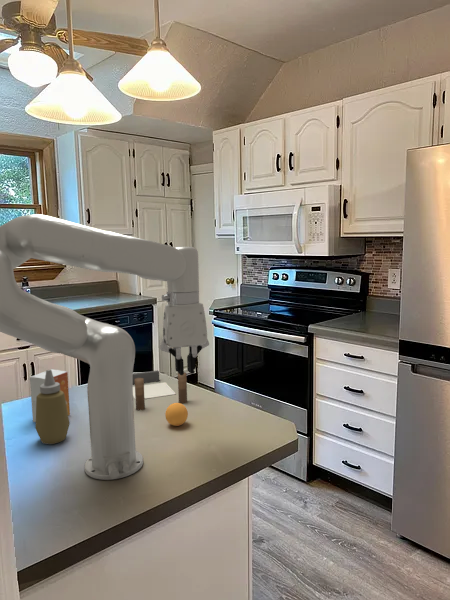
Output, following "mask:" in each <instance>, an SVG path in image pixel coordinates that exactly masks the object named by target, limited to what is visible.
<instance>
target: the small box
mask: <svg viewBox="0 0 450 600" xmlns="http://www.w3.org/2000/svg"><path fill="white" fill-rule="evenodd" d="M50 370H51V371H52V374H53V377H54V380H55V382H58V383H59V384H60V390H61V391H63V392H64V394H65V400H66V405H67V411H68V417H69V416H71V412H70V411H71V409H70V395H69V394H70V393H69V378H68V377H69V374H68V373H69V372H68V371H66V370H60V369H53V368H51V369H50ZM45 376H46V371H43V372H39V373H37V374H35V375H31V376H29V384H30V385H29V386H30V388H29V389H30V398H31V401H30V402H31V412H32V413H31V415H32V422H33V423H36V397H37V395H38V394H39V393H41V392H40V385H42V384H44V382H45Z"/></svg>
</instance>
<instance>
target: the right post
mask: <svg viewBox="0 0 450 600" xmlns="http://www.w3.org/2000/svg"><path fill="white" fill-rule="evenodd" d="M187 382H188V380H187V372H185V371H184V374H183V375H180V374H179V373H178V372H177V385H178V387H177V388H178V389H177V390H178V391H177V392H178V393H177V394H178V403H181V404H183V405H184V404H187V403H188V387H187V386H188V385H187Z"/></svg>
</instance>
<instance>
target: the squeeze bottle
mask: <svg viewBox="0 0 450 600" xmlns="http://www.w3.org/2000/svg"><path fill="white" fill-rule="evenodd" d="M40 392H41V393H39V394H38V395H37V397H36V422H35V430H36V433H37V435H38V437H39V439H40V442H41V443H42V444H45V445H54V444H57V443H61V442H63V441H64V440H66V438H67V435H68V433H69V432H68V431H69V427H70V424H71V423H70V422H71V421H70V417H69V416H68V411H67V405H66V400H65V394H64V392H63V391H61V390H60V384H59V383H58V382H55V380H54V377H53V374H52V371H51V369H47V370H46V376H45V382H44V384H42V385H40Z"/></svg>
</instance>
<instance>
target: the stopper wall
mask: <svg viewBox="0 0 450 600" xmlns="http://www.w3.org/2000/svg"><path fill="white" fill-rule="evenodd" d="M136 378H143V379H144V384H147V383H149V384H150V383H158V382H160V371H159V370H151V371H143V372H136V373H135V372H133V386H135V379H136Z"/></svg>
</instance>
